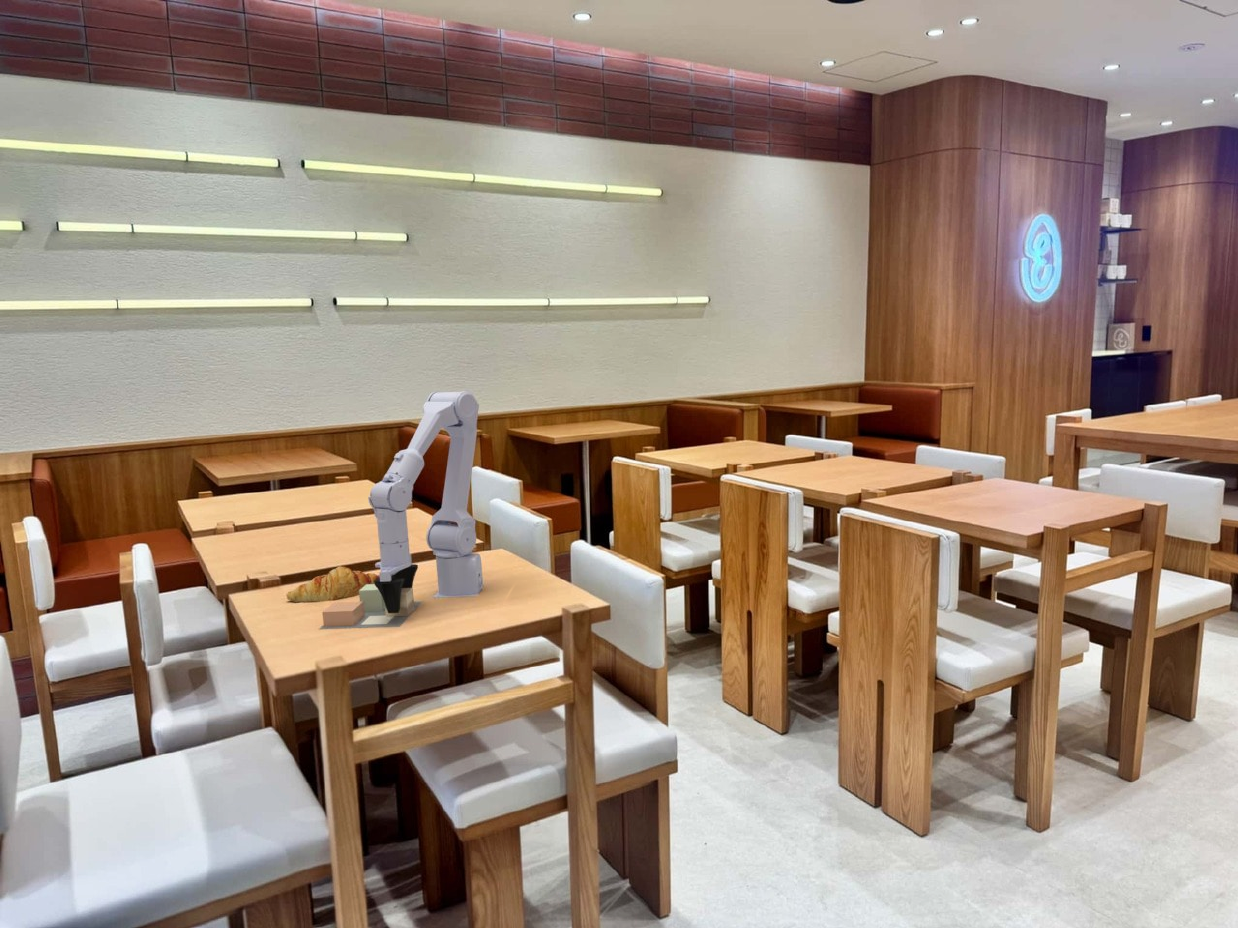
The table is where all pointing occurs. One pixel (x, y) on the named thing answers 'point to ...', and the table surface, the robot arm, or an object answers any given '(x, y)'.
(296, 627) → the table surface
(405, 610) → the maple cube
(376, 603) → the sage cube
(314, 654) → the table surface
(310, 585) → the croissant
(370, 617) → the board
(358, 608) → the terracotta slab
